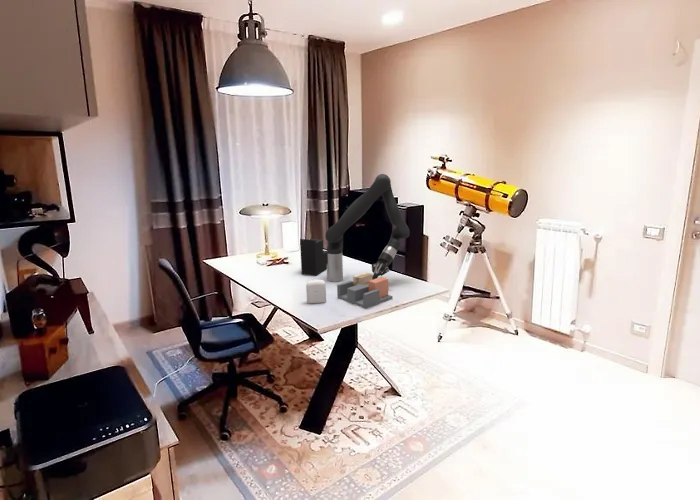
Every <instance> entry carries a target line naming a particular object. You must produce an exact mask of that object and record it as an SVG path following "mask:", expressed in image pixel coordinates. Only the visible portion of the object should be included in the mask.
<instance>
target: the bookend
mask: <svg viewBox="0 0 700 500" xmlns="http://www.w3.org/2000/svg"><path fill="white" fill-rule="evenodd" d="M299 242H300V244H299V246H300V264H301V265H300V267H301V275H304V276H313V277H317V276H318V275H320V274H321V273H323V272H325V271H327V264H328V261H327V250H324V240H323V239H316V238H310V239H308V238H307V239H306V238H305V239H304V238H300V239H299Z"/></svg>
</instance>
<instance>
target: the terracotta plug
mask: <svg viewBox="0 0 700 500" xmlns="http://www.w3.org/2000/svg"><path fill="white" fill-rule="evenodd" d="M376 289H378V290H380V298H381V297H384V296H386V295H389V278H387V277H384V276H379V277H378V278H376V279H373V280H370V281H369V292H370V291H373V290H376Z"/></svg>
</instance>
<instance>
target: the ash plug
mask: <svg viewBox="0 0 700 500" xmlns="http://www.w3.org/2000/svg"><path fill="white" fill-rule="evenodd" d="M372 276H373V274H372V273H369V272H367V271H366V272H362V273H358V274H356V275H353V276H352V281H353V286H356V285H359V284H363V285H366V286H369V281H370V280H372Z"/></svg>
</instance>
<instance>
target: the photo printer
mask: <svg viewBox="0 0 700 500" xmlns="http://www.w3.org/2000/svg"><path fill="white" fill-rule="evenodd" d="M326 285H327V284H326V282H325V280H323V279H311V280H308V281H306V285H305V287H306V288H305V289H306V290H305V291H306V303H307V304H318V303H319V304H321V303H322V304H324V303H326V302H327V290H326V288H327V286H326Z"/></svg>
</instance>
